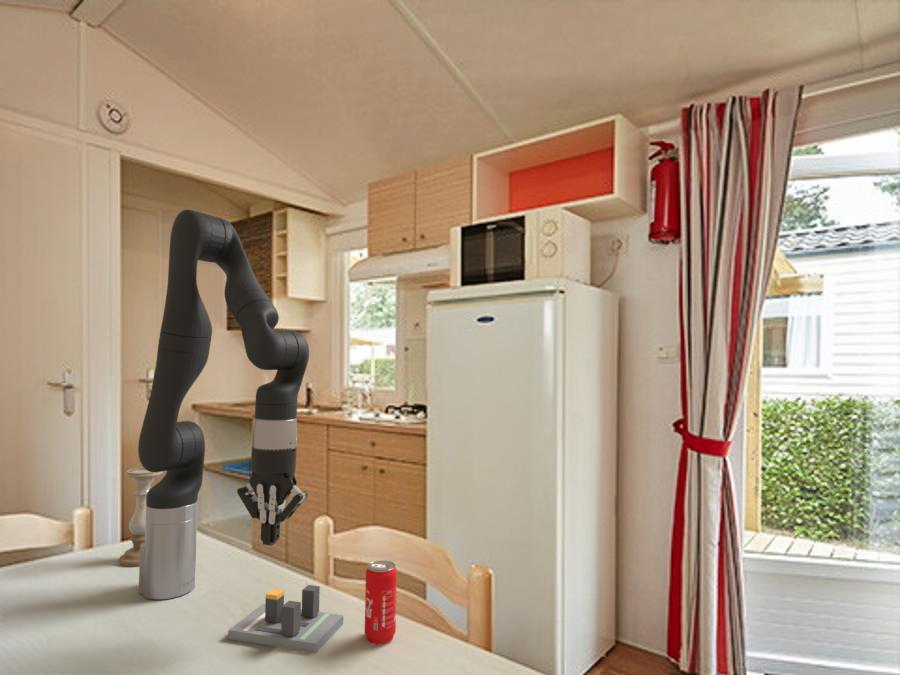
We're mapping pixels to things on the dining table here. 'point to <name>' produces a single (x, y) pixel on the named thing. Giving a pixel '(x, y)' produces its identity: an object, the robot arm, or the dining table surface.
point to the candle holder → (138, 514)
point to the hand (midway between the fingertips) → (270, 543)
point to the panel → (269, 633)
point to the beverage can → (380, 602)
